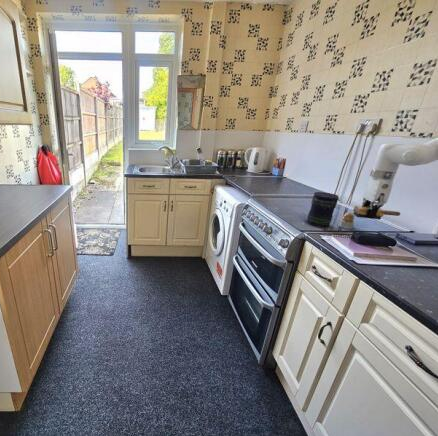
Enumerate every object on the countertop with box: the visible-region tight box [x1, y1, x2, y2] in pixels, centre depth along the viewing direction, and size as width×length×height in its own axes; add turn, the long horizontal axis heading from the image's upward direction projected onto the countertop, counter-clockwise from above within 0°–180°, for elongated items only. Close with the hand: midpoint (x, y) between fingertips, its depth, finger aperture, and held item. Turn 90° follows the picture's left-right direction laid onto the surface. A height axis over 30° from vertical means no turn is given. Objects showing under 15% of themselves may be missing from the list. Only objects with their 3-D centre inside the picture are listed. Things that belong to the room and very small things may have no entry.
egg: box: [337, 212, 355, 230], centre depth 118 cm, size 6×6×7 cm
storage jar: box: [306, 191, 340, 229], centre depth 119 cm, size 10×10×15 cm
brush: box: [352, 204, 401, 220], centre depth 106 cm, size 16×5×4 cm, turn 72°
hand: (366, 215), depth 108 cm, fingers closed on brush, 4 cm apart
